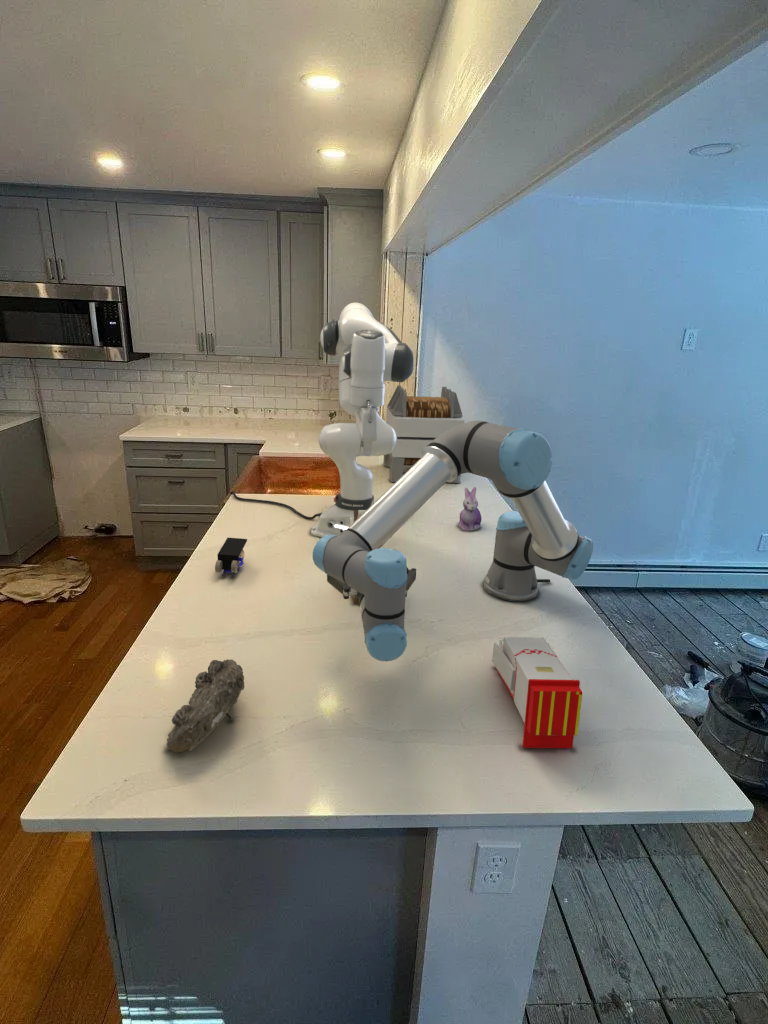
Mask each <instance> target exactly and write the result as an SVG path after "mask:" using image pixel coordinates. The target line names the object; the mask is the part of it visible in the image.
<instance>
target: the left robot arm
mask: <svg viewBox="0 0 768 1024" xmlns="http://www.w3.org/2000/svg"><path fill="white" fill-rule="evenodd" d="M319 342H320V345H321V348H322V350H323V353H324V354H325V355H329V356H333V357H334V356H335V357H336V356H341V358H340V361H339V366H338V367H339V368H338V398H339V399H338V400H339V406H340V408H341V410H342V411H343V412H344V413H346V414H347V415H350V416H351V417H352V418H354V419H355V422H335V423H330V424H325V425H323V427H322V428H321V430H320V432H319V435H318V445H319V447H320V449H321V451H322V452H323V453H324V454H325V455H326V456H328V457H329V458H330V459H331V460H332V462H334V464H335V466H336V467H337V470H338V474H339V483H340V484H339V485H340V488H339V489H340V490H339V491H338V492H337V494H336V495H335V496H334V497H333V502H334V504H333V505H331V506H329V507H328V508H326V509H325V510H323V512H319V513H315V514H314V515H312V516H306V515H304V514H303V513H302V512H299V511H298V510H296V509H295V508H294V507H292V506H290V505H289V504H286V503H283V502H278V501H273V500H265V499H256V498H246V497H245V498H244V497H239V496H238V495H237V494H236V492H235V491H234V490H232V491H230V493H229V495H233V497H234V498H235V499H236V500H239V501H244V502H256V503H264V504H272V505H277V506H280V507H281V506H282V507H285V508H288V509H290V510H291V511H292V512H293V513H295V514H297V515H298V516H300V517H301V518H304V519H305V520H315V518H316V517H318V521H317V523H315V524H314V525H313V526H312V528H311V530H310V533H311V536H315V537H319V538H322V537H323V536H327V535H334V536H335V535H336V536H340V535H341V534H342V533H343V532H344V531H345V530H347V528H348V527H349V526H350V525H351V524H352V523H354V511H358V510H367V509H368V508H369V507H370V506H371V505H372V504H373V503H375V496H374V474H373V472H372V471H371V469H369V468H368V467H366V466H364V465H362V464H360V463H359V462H357V461H356V459H357V458H358V457H380V456H384V455H386V454H390V453H391V452H392V451H393V450H394V448H395V446H396V443H397V436H396V433H395V431H394V429H393V428H392V427H391V426H390V425H389V424H387V423H386V420H384V419H383V418H382V417H381V415H380V414H379V413H378V412H379V411H380V407H383V406H385V395H386V393H385V392H386V391H385V390H386V384H385V382H393V383H403V382H405V381H407V380H408V379H409V378H410V377H411V376H412V374H413V372H414V367H415V356H414V352H413V350H412V349H411V347H410V346H409V345H408V344H407V343H406V342H403V341H402V340H401V339H400V338H399V337H398V336H397V335H396V333H395V332H394V330H392V329H391V328H389V327H388V326H387V325H385V324H384V322H381V321H378V320H377V319H375V317H374V315H373V313H372V312H371V310H370V309H369V308H368V307H367V306H366V305H365V304H363V303H360V302H351V303H348V304H347V305H345V306H344V307H343V309H342V310H341V312H340V315H339V319H338V320H335V319H334V318H333V319H332V320H331V321H328V322H326V323H325V324H323V326H322V329H321V331H320V335H319Z"/></svg>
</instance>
